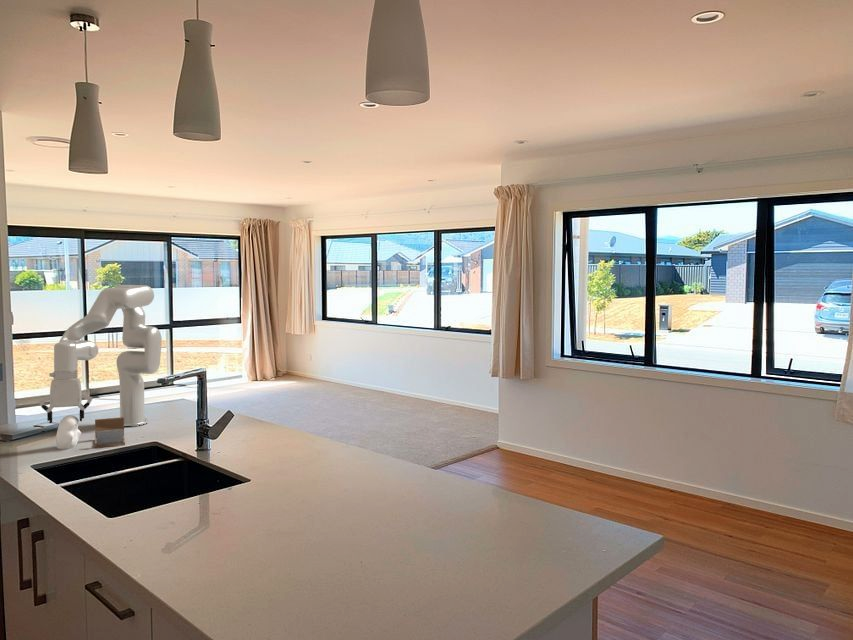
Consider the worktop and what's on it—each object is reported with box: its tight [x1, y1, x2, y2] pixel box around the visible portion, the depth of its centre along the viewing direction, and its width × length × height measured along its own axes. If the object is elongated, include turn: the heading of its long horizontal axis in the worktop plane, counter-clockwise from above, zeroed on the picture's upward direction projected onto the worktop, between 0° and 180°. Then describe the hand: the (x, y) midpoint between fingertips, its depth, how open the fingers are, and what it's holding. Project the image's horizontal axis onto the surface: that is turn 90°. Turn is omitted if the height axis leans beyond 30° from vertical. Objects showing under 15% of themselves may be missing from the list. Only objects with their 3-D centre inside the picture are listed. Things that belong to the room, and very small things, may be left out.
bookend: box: [96, 429, 124, 445], centre depth 234 cm, size 4×9×5 cm, turn 118°
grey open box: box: [94, 416, 126, 449], centre depth 238 cm, size 13×10×8 cm
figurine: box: [55, 414, 82, 450], centre depth 231 cm, size 7×8×12 cm
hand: (66, 421), depth 230 cm, fingers open, 9 cm apart
